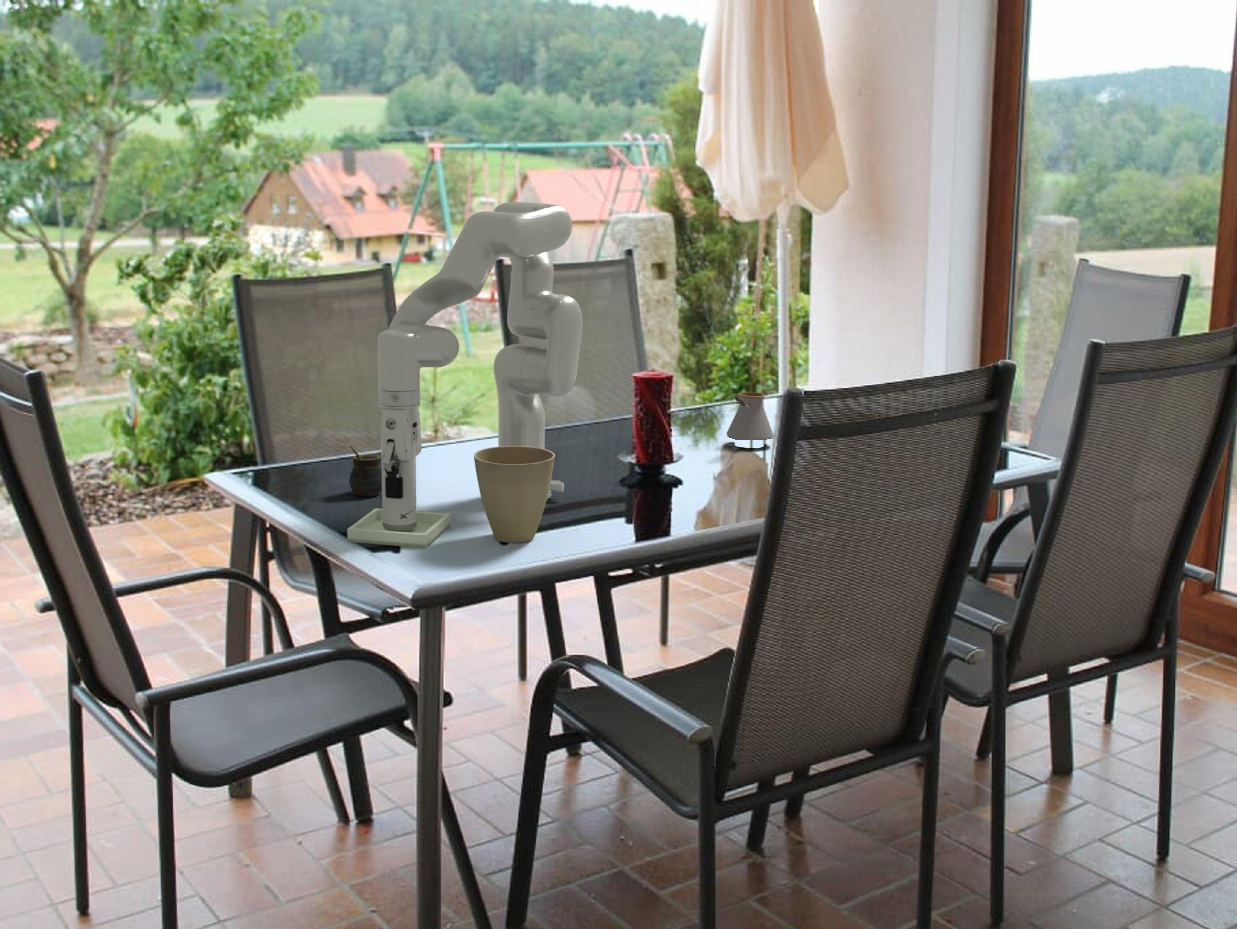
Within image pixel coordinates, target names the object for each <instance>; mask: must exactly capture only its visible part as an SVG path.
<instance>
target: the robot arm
mask: <svg viewBox="0 0 1237 929" xmlns="http://www.w3.org/2000/svg"><path fill="white" fill-rule="evenodd" d="M572 230H573V223H572V218H571V215H570V214H569V212H568V210H567V209H565V208H564V207H563V206H561V205H557V204H554V203H553V204H552V203H537V202H536V203H535V202H526V201H508V202H504V203H503V202H502V203H500V204H498V205H497V206H496V207H495V208H494V210H493V211H489V210H488V211H487V210H486V211H485V210H484V211H477V212H475V213H474V214H471V215H470V217H468V219H467V220H466V221H465V223H464V225H463V227H462V229H461V230H460V232H459V235H458V236H457V238H456V241H455V242H454V244H453V246H452V248H451V250H450V252H449V253H448V256H447V258H446V260H444V261H445V262H444V264H443V265H442V267H441V268H440V270H439V272H437V274H435V275H433V276H432V277H430V278H429V279H427V280H426V281H424V282H423V283H422V284H421V285H420V286H418V287H417V288H416V289H415V290H413V291H412V292H411V293H410V294H408V296H407V297H406V298H405V299H404V300H403V301H402V302H401V304H400V305H399V307H398V308H397V310H396V313H395V314H394V316H393V318H392V320H391V322H390V325H389V326H388V329H387V330H383V331H382V332H380V333H379V334H378V336H377V374H378V375H377V386H378V389H377V390H378V391H377V392H378V407H379V408H381V424H380V455H381V456H382V457H381V456H380V457H381V460H382V459H383V465H384V468H385V469H384V470H385V494H386V497H387V498H396V499H401V498H403V477H401V471H402V461H403V462H404V463H407V462H409V461H410V460H411V459H413V458H414V447H413V446H414V444H415V445H416V446H415V453H416V457H417V456H418V455H420V453H421V452H422V450H423V449H422V430H421V428H422V427H421V417H420V408H419V407H420V406H421V388H420V387H421V374H420V373H421V369H422V368H442V367H446V366H449V365H450V364H452V363H453V362H454V361H455V359H456V358H457V356H458V355H459V351H460V343H459V339H458V337H457V335H456V334H455V333H454V332H453V331H451V330H450V329H449V328H445V327H442V326H436V325H428V324H427V323H428V322H429V320H431V319H432V318H433V317H434V316H435V315H437V314H438V313H440V312H441V311H443V310H446V309H448V308H451V307H453V306H456V305H460V304H463V303H465V302H467V301H471V300H472V299H474V298H476V297H477V296H478V295H480V293H481V292H482V290H483V288H484V286H485V284H486V282H487V279H488V278H489V277H490V276H489V275H490V274H491V272H492V270H493V268H494V266H495V265H496V262H497V261H498V259H499V258H508V259H510V264H511V265H510V266H511V273H510V274H511V277H510V288H509V294H508V295H509V296H508V297H509V298H508V304H507V305H508V306H507V317H506V322H507V328H508V330H509V331H510V332H511V333H512V334H513V335H515V336H517V337H520V338H523V339H524V338H526V339H529V340H538V341H546V347H543V346H537V345H530V344H523V343H522V344H521V343H520V344H518V343H516V344H515V343H514V344H509V345H506V346H504V347H503V348H501V349H500V350H499V351H498V352H497V353H496V356H495V358H494V362H493V376H494V381H495V385H496V391H497V392H496V393H497V404H498V405H497V406H498V423H497V424H498V428H497V430H498V435H497V439H498V440H497V441H498V442H497V443H498V444H497V447H499V446H529V447H537V448H542V449H545V445H546V444H545V440H546V439H545V437H546V436H545V434H546V433H545V432H546V431H545V430H546V429H545V428H546V412H545V407H544V404H543V401H542V399H541V397H540V396H546V397H557V398H559V397H563V396H565V395H568V394H569V393H570V392H571V390H572V389H573V387H574V385H575V383H576V379H577V375H578V370H579V369H578V367H579V360H580V352H581V345H582V344H581V343H582V335H583V324H584V322H583V320H584V319H583V314H582V313H583V312H582V309H581V307H580V304H579V303H578V301H577V300H576V299H575V298H573V297H572V296H569V295H566V294H561V293H553V286H554V285H553V284H554V276H555V274H554V273H555V272H554V270H555V269H554V264H553V260H552V257H551V255H550V252H553V251H554V250H558V249H560V248H562V247H563V246H564V245H565V244H566V243H567V241H568V240H569V239H570V237H571V233H572V232H573V231H572ZM415 422H417V427H414V428H413V423H415ZM414 431H415V434H414V435H413V432H414ZM414 439H416V442H415V443H413V440H414ZM393 456H396V457H398V458H399V460H392V459H393ZM393 464H397V469H396V467H395V465H393ZM564 490H565V483H564V482H562V480H552V479H551V483H550V488H549V492H548V496H547V500H548V499H550V498H551V497H552V491H553V492H561V493H563V492H564Z"/></svg>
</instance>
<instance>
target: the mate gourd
mask: <svg viewBox="0 0 1237 929" xmlns="http://www.w3.org/2000/svg"><path fill="white" fill-rule="evenodd" d="M349 448H350V449H351V450H352V453H354V455H355V456H353V458H352V463H353V466H352V469H351V472H350V474H349V480H348V482H349V486H350V489H351V491H352V492H353V494H355V495H356V496H359V497H361V498H367V497H368V498H370V497H375V496H376V497H377V496H378V495H379V494H380V493H382V466H381V456H380V455H379V454H373V453H365V454H359V453H358V452H357V451H356V450H355V448H354V447H353V446H351V445H349Z"/></svg>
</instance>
